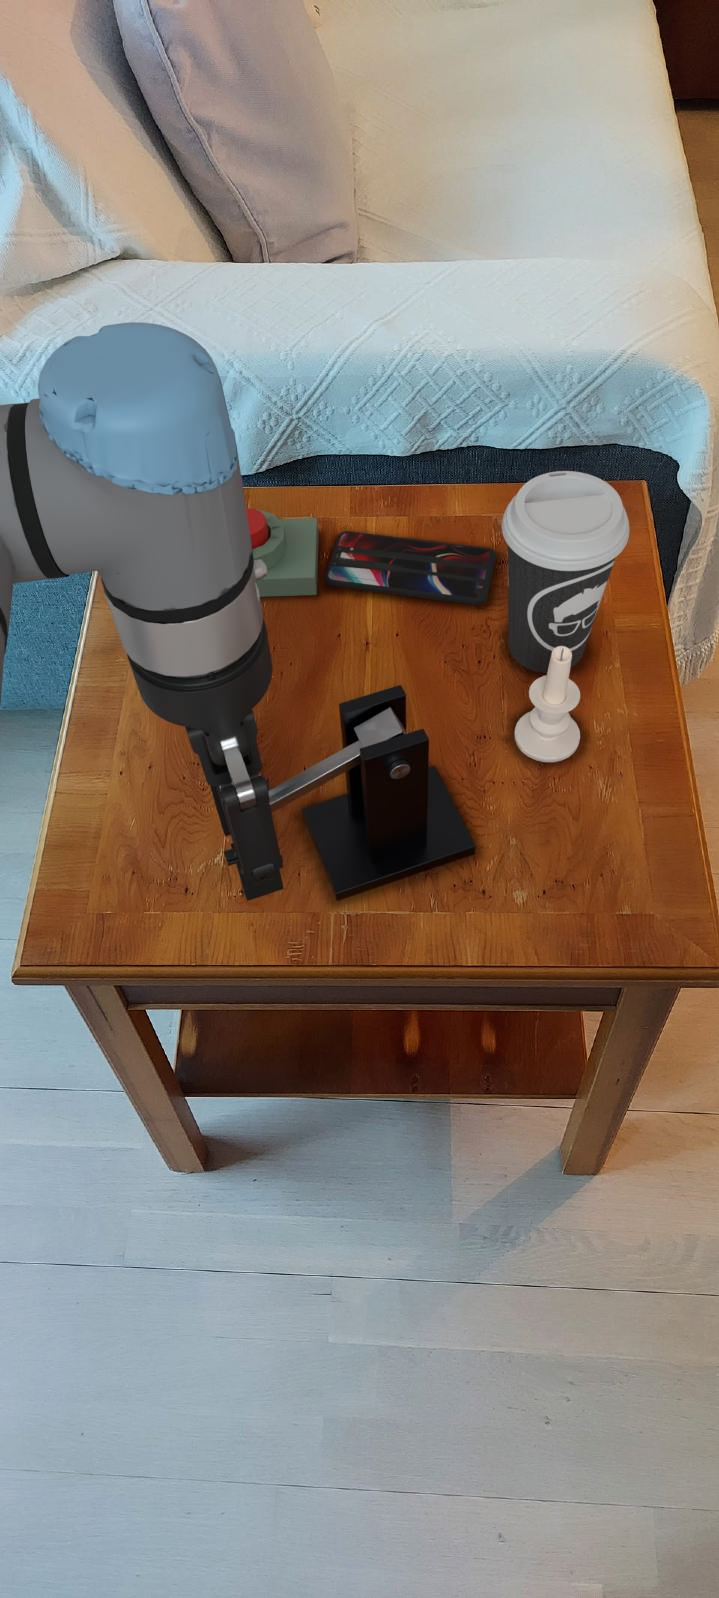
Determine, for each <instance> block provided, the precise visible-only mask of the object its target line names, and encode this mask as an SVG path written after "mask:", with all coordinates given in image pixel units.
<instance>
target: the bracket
mask: <svg viewBox="0 0 719 1598" xmlns="http://www.w3.org/2000/svg"><path fill="white" fill-rule="evenodd" d="M388 708H391V709H392V710H393V712H394V713H395V715H396V716H397V718H398V719H399V721H400V722H401V724H402V725H403V727H404V729H405V731H406V733H407V694H406V692H405V690H404V688H403V686H402V684H398V685H395V686H391V687H389V688H385V689H382V690H379V691H376V692H372V693H369V694H366V695H363V696H360V697H356V698H353V699H350V700H347V701H343V702H340V703H338V710H339V720H340V731H341V732H340V733H341V744H342V749H344V748H346V747H347V746H349V745H351V744H353V743H355V742H356V741H358V740H359V739H358V736H357V734H356V732H355V730H354V727H356V726H358V725H360V724H361V723H363V722H365V721H367V720H368V719H370V718H372V717H374V716H376V715H377V714H379V713H381V712H383V711H384V710H386V709H388ZM429 761H430V738H429V736H428V735H427V732H426V731H425V729H424V728H421V729H418V730H413V731H411V732H408V733H407V734H404V735H401V736H398V737H395V738H392V739H388V740H385V741H382V742H379V743H376V744H373V745H369V746H366V747H363V748H360V762H361V764H359V765H357V766H355V767H353V768H352V769H350V770H348V771H346V772H344V775H345V784H346V785H345V786H346V787H345V788H346V793H344V794H342V795H339V796H335V797H333V798H330V799H326V800H323V801H321V802H317V803H313V804H311V805H308V806H305V807H302V808H301V813H302V814H301V815H302V818H303V819H302V820H303V821H304V823H305V824H304V825H305V826H306V828H307V831H308V834H309V836H310V838H311V841H312V843H313V846H314V849H315V851H316V853H317V856H318V858H319V861H320V863H321V867H322V868H323V871H324V873H325V875H326V878H327V881H328V883H329V886H330V888H331V890H332V893H333V896H334V899H335V900H336V902H340V901H342V900H345V899H347V898H350V897H353V896H357V895H359V894H362V893H366V892H367V891H371V890H374V889H377V888H380V887H383V886H386V885H389V884H392V883H394V882H397V881H400V880H404V879H406V878H409V877H412V876H414V875H418V874H420V873H424V872H426V871H427V872H428V871H429V870H432V869H435V868H439V867H441V866H444V865H447V864H450V863H453V862H456V861H459V860H461V859H465V858H467V857H471V856H473V855H475V854H476V848H477V847H476V844H475V842H474V839H473V838H472V836H471V834H470V831H469V829H468V828H467V826H466V824H465V822H464V820H463V818H462V816H461V814H460V812H459V811H458V808H457V807H456V805H455V802H454V800H453V799H452V797H451V795H450V793H449V791H448V789H447V787H446V785H445V783H444V781H443V778H442V777H441V775H440V772H439V771H438V769H437V768H436V765H431V766H430V765H429V764H430V763H429Z"/></svg>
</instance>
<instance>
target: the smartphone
mask: <svg viewBox="0 0 719 1598" xmlns="http://www.w3.org/2000/svg"><path fill="white" fill-rule="evenodd" d="M496 561H497V553H496V551H495V550H494V549H493V548H490V547H483V546H482V547H481V546H475V545H474V546H473V545H466V544H457V543H449V542H441V541H432V540H425V539H418V538H417V539H416V538H409V537H399V536H391V535H385V534H384V535H383V534H376V533H375V534H373V533H366V532H359V531H350V530H346V531H342V532H340V533H339V534H338V535H337V538H336V541H335V544H334V547H333V550H332V552H331V556H330V559H329V562H328V564H327V567H326V571H325V573H324V582H325V584H326V585H327V586H329V587H334V588H340V589H341V588H342V589H349V590H355V591H356V590H357V591H363V592H373V593H381V594H386V595H387V594H388V595H396V596H403V597H409V598H410V597H411V598H420V599H425V600H426V599H427V600H433V601H442V602H449V603H457V604H465V605H472V606H482V605H484V604H485V603H487V602H488V599H489V594H490V589H491V586H492V579H493V575H494V571H495V570H494V569H495V565H496V564H495V563H496Z"/></svg>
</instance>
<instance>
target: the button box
mask: <svg viewBox="0 0 719 1598" xmlns="http://www.w3.org/2000/svg"><path fill="white" fill-rule="evenodd" d="M257 510H258V511H260V512H262V513H263V514H264V516H265V517H266V522H267V528H268V539H267V541H266V542H265V543H264V544H263V545H262V546H259V547H257V548H255V549H252V551H253V558H254V561H255V560H259V559H261V560H262V561H263V562H264V563H265V564H266V567H267V575H266V577H264V578H263V579H260V580H257V581H255V582H256V584H257V587H258V589H259V594H260V598H265V597H267V598H269V597H295V596H296V597H297V596H300V597H301V596H317V594H318V573H319V572H318V571H319V540H320V539H319V538H320V536H319V535H320V534H319V525H318V518H317V517H303V518H302V517H301V518H300V517H299V518H279V517H277V515H276V514H273V513H271V512H267V511H265V510H263V509H257Z"/></svg>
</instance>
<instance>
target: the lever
mask: <svg viewBox="0 0 719 1598" xmlns="http://www.w3.org/2000/svg"><path fill="white" fill-rule="evenodd" d="M354 730H355V732H356V734H357V736H358V739H359V740H358V741H356V742H355V743H353V744H351V745H349V746H347V747H346V748H344V749H343V748H342V749H340V750H339V751H337V752H335V753H334V754H332V755H329V756H328V757H326V758H324V759H323V760H321V761H319V762H317V763H316V764H314V765H312V766H309V767H308V768H307V769H305V770H303V771H301V772H300V773H298V774H296V775H294V776H292V777H291V778H289V779H287V780H285V781H284V782H282V783H279V784H278V785H277V786H275V787H273V788H271V789H269V791H268V792H269V803H270V808H271V813H272V814H273V813H275V812H277V811H278V810H280V809H282V808H284V807H286V806H287V805H289V804H290V803H293V802H295V801H296V800H298V799H300V798H302V797H303V796H305V795H307V794H309V793H310V792H312V791H314V790H316V789H318V788H320V787H322V786H323V785H325V784H327V783H329V782H330V781H332V780H333V779H335V778H337V777H340V776H341V775H343V774H345V772H346V771H348V770H350V769H352V768H353V767H355V766H357V765H359V764H361V762H360V748H363V747H366V746H369V745H373V744H376V743H379V742H382V741H385V740H388V739H392V738H395V737H398V736H401V735H404V734H407V730H406V731H405V729H404V727H403V725H402V724H401V722H400V721H399V719H398V718H397V716H396V715H395V713H394V712H393V710H392V709H391V708H388V709H386V710H384V711H383V712H381V713H379V714H377V715H376V716H374V717H372V718H370V719H368V720H367V721H365V722H363V723H361V724H360V725H358V726H356V727H354Z"/></svg>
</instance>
